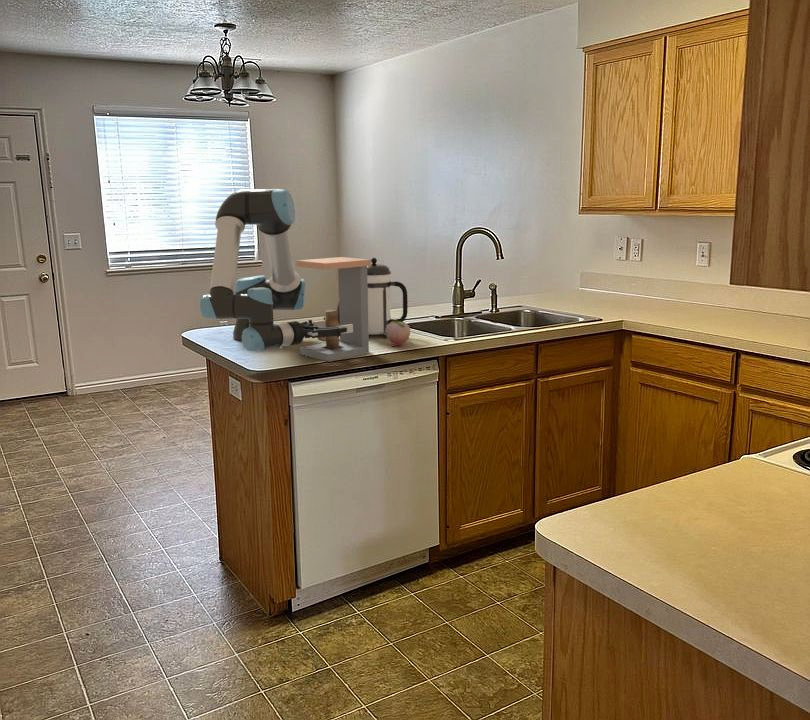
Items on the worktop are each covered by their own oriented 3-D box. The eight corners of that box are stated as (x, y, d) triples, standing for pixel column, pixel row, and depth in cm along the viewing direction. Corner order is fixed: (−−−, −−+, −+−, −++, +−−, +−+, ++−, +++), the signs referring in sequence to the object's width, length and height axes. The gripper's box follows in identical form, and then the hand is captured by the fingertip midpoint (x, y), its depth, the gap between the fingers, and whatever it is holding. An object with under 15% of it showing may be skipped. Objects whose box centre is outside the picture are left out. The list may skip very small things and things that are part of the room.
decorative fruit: (415, 346, 267) (415, 318, 265) (398, 349, 262) (398, 321, 260) (398, 342, 274) (398, 315, 272) (381, 345, 269) (381, 318, 267)
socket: (300, 354, 255) (296, 260, 248) (343, 346, 267) (341, 257, 260) (328, 361, 243) (325, 263, 236) (372, 353, 256) (370, 259, 249)
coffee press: (371, 341, 276) (369, 260, 270) (348, 335, 289) (346, 257, 283) (408, 336, 286) (408, 257, 280) (385, 330, 299) (384, 255, 292)
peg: (323, 354, 254) (322, 311, 251) (333, 352, 257) (332, 309, 254) (331, 356, 251) (330, 312, 248) (341, 354, 254) (340, 311, 251)
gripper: (267, 340, 250) (319, 332, 264) (310, 350, 232) (363, 341, 247) (266, 318, 248) (318, 311, 262) (310, 327, 231) (363, 318, 245)
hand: (340, 325), depth 255 cm, fingers open, 12 cm apart
